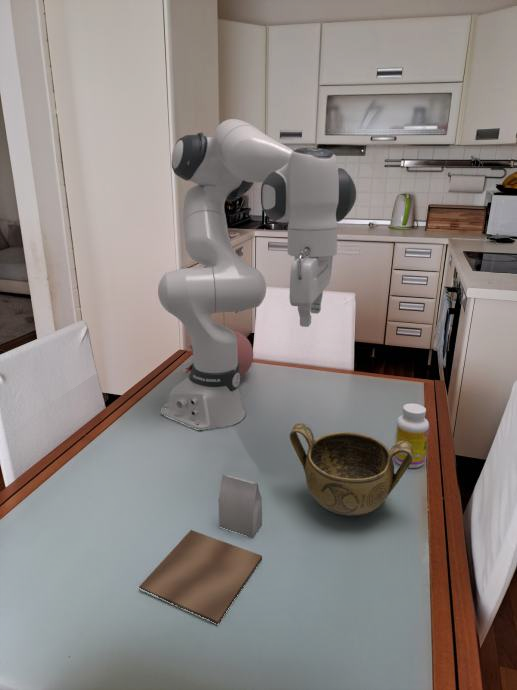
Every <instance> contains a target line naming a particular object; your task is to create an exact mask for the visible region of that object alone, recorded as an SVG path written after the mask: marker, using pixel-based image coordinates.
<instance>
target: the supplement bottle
mask: <svg viewBox="0 0 517 690" xmlns="http://www.w3.org/2000/svg"><path fill="white" fill-rule="evenodd" d="M426 414H427V408H426V407H424V406H423V405H421V404H418V403H412V402H411V403H406V404H404V405H403V407H402V414H401V415H399V416H398V418H397V421H396V426H395V427H396V430H395V438H394V439H395V440H394V445H395V444H396V443H398V442H400V441H407V442H408V443H410V444H411V446H412V448H413V452H412V457H413V459H412V462H411V464H410V465H409V467H408V468H407V469H409V468H410V469H417V468H420V467H422V466H423V465H424V464H425V463H426V457H427V456H426V455H427V446H428V438H429V430H430V422H429V421H428V419H427V418H425V416H426ZM407 455H408V454H407V453H405V452H400V453H398V454H396V455H395V456H394V457H393V459H394V461H395V462H396V463H397V464H398V465H399V466H400V465H401V464H402V462H403V461H404V459H405V458H406V456H407Z"/></svg>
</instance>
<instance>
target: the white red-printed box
mask: <svg viewBox="0 0 517 690" xmlns="http://www.w3.org/2000/svg"><path fill="white" fill-rule="evenodd" d="M219 489H220V490H219V494H218V495H219V496H218V499H217V501H218V503H217V504H218V505H217V506H218V524H219V527H222V528H225V529H228V530H231V531H234V532H237V533H240V534H243V535H246V536H245V537H247V536H248V537H247V538H250V537H251V539H254V538H255V537H256V535H257V534H258V533H259V531H260V530H259V529H261V528H262V527H263V497H262V495H261V492H260V488H259V483H257V482H254V481H250V480H246V479H243V478H239V477H236V476H233V475H231V476H230V475H228V474H222V476H221V484H220V488H219ZM261 526H262V527H261ZM219 527H218V528H219ZM222 528H221V529H222ZM225 529H224V530H225ZM228 530H227V531H228ZM231 531H230V532H231ZM234 532H233V533H234ZM237 533H236V534H237ZM256 533H257V534H256ZM240 534H239V535H240ZM243 535H242V536H243Z"/></svg>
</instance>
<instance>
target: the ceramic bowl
mask: <svg viewBox="0 0 517 690" xmlns="http://www.w3.org/2000/svg"><path fill="white" fill-rule="evenodd" d="M297 433H299V434H300V435H302V436H303V438H304V439H305V441H306V443H307V445H308V450H307V453H306V451H305V449H304V447H303V444H302V442H301V439H300V437H299V436H298V434H297ZM289 440H290V443H291V445H292V447H293V449H294V451H295V453H296V455H297V457H298V460H299V461H300V463H301V465H302V468H303V471H304V472H303V473H304V475H305V476H304V477H305V482H306V485H307V488H308V491H309V492H310V494H311V496H312V497H313V498H314V500H315V501H316V502H317V503H318V504H319V505H320V506H322V507H323V508H324V509H325V510H327V511H328V512H331V513H334V514H337V515H340V516H348V517H354V516H364V515H366V514H368V513H372V512H373V511H374V510H376V509H377V508H379V507H380V506H381V505H382V504H383V503H384V502H385V501H386V500H387V498H388V496H389V495H390V493H391V492H392V491H393V489H394V488H396V485H397V484H398V483H399V482H400V480H401V479H402V478H403V475H404V474H405V472H406V471H407V470H408V469H409V468H408V467H409V465H410V464H411V462H412V459H413V457H412V452H413V448H412V446H411V444H410V443H408V442H407V441H400V442H398V443H396V444H395V443H394V445H392V446H391V448H390V449H389V448H388V446H386V445H385V444H384V443H383V442H382V441H381V440H379V439H377V438H375V437H372V436H369V435H368V434H364V433H360V432H355V431H337V432H330V433H326V434H324V435H321V436H319V437H318V438H316V439H315V437H314V433H313V432H312V430H311V428H310V427H309V426H308V425H307V424H305V423H302V422H297V423H295V424H294V426H293V427H292V429H291V431H290V433H289ZM400 452H405V453H407V454H408V455H407V456H406V458H405V459H404V461H403V462H402V464H401V465H400V464H399V467H398V468H397V471H396V472H395V466H394V460H393V459H394V456H395V455H396V454H398V453H400Z"/></svg>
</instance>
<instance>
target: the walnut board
mask: <svg viewBox="0 0 517 690" xmlns="http://www.w3.org/2000/svg"><path fill="white" fill-rule="evenodd" d="M262 560H263V555H261V554H259V553H256V552H253V551H251V550H248V549H244V548H242V547H239V546H237V545H234V544H231V543H228V542H225V541H222V540H221V539H217V538H214V537H212V536H209V535H206V534H203V533H202V532H199V531H195V530H192V529H190V530H189V531H188V533H187V534H186V535H185V536H184V537H182V538H181V540H180V541H179V542H178V544H176V546H175V547H174V548H172V550H171V551H170V552H169V553H168V554H167V555H166V557H165V558H164V559H163V560H162V561H160V563H159V564H158V565H157V566H156V567H155V568H154V570H153V571H152V572H150V574H149V575H148V576H147V578H146V579H144V581H142V582H141V584H140V585H139V588H141V589H143V590H145V591H147V592H149V593H152V594H154V595H156V596H158V597H159V598H162V599H164V600H166V601H168V602H170V603H173V604H174V605H177V606H178V607H180V608H183V609H186V610H188V611H190V612H193V613H194V614H197V615H200V616H201V617H204V618H206V619H209V620H210V621H212V622H214V623H216V624H218V623H219V622H220V620H221V619H222V617H223V616H224V614H225V613H226V611H227V610H228V608H229V607H230V605H231V604H232V602H233V601H234V599H235V598H236V597H237V598H238V596H239V595H240V593H241V592H242V590H243V589H244V587H245V586H246V584H247V583H246V582H249V580H248V579H250V578H251V577H250V576H253V574H254V572H255V571H256V569H257V568H258V566H259V565H260V563H261V562H262ZM256 567H257V568H256ZM254 570H255V571H254ZM252 573H253V574H252ZM244 585H245V586H244ZM243 586H244V587H243ZM242 588H243V589H242ZM241 589H242V590H241ZM240 591H241V592H240ZM239 592H240V593H239ZM238 594H239V595H238ZM237 595H238V596H237ZM237 598H236V599H237ZM236 599H235V600H236ZM234 602H235V601H234ZM234 602H233V603H234ZM232 605H233V604H232ZM232 605H231V606H232ZM180 608H179V609H180ZM230 608H231V607H230ZM230 608H229V609H230ZM228 611H229V610H228ZM228 611H227V612H228ZM226 614H227V613H226ZM226 614H225V615H226ZM224 617H225V616H224ZM224 617H223V618H224ZM222 620H223V619H222ZM222 620H221V621H222ZM220 623H221V622H220ZM220 623H219V624H220Z"/></svg>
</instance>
